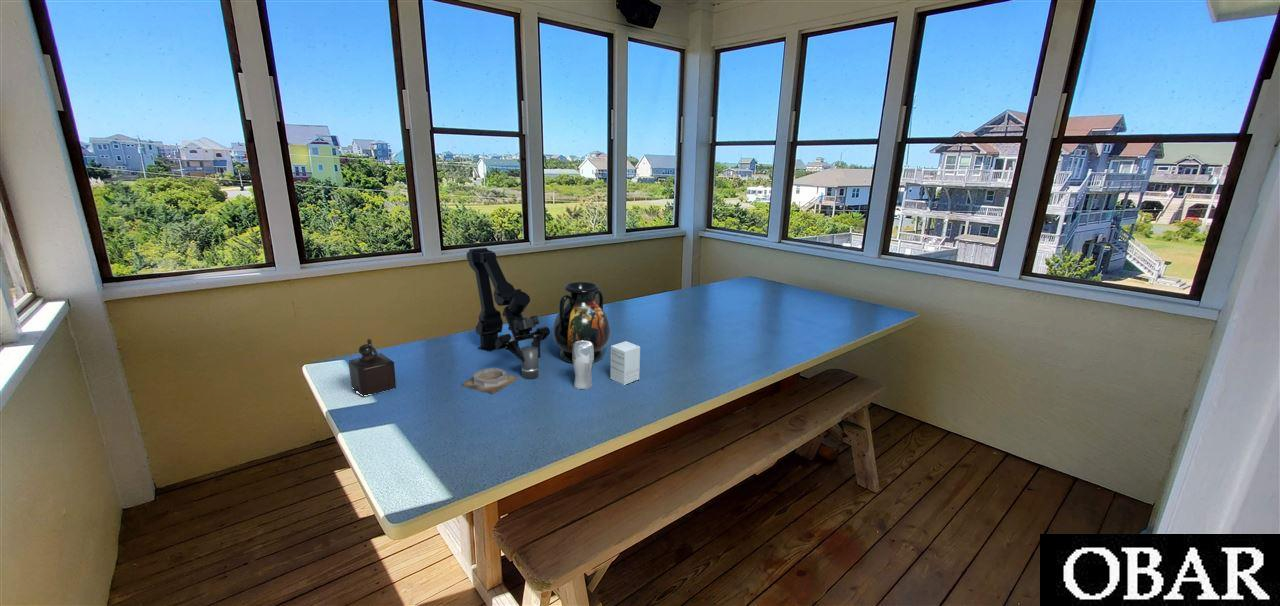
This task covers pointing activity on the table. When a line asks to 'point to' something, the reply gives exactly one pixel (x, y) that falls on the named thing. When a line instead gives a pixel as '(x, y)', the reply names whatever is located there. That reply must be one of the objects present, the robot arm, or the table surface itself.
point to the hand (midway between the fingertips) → (531, 359)
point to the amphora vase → (581, 320)
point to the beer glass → (583, 363)
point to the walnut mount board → (490, 389)
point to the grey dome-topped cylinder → (530, 362)
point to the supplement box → (625, 362)
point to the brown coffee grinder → (371, 371)
